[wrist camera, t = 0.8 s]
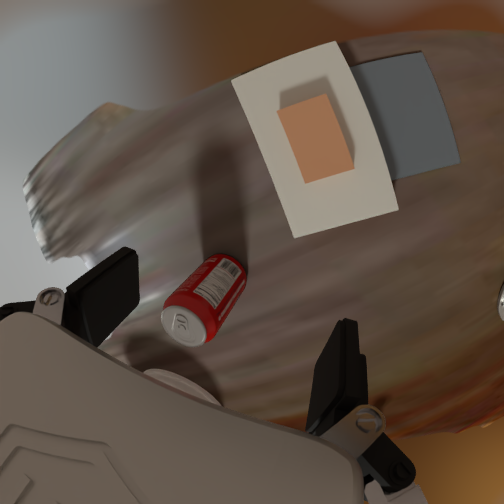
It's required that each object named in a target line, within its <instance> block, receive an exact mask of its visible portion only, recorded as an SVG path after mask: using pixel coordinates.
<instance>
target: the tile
mask: <svg viewBox="0 0 504 504" xmlns="http://www.w3.org/2000/svg"><path fill="white" fill-rule="evenodd" d="M276 112H277V114H278V116H279V119H280V121H281V123H282V126H283V128H284V131H285V133H286V135H287V138H288V140H289V143H290V145H291V148H292V151H293V153H294V156H295V158H296V161H297V163H298V166H299V169H300V171H301V174H302V177H303V179H304V182H305V184H306V183H310V182H313V181H316V180H319V179H322V178H326V177H329V176H332V175H336V174H339V173H342V172H346V171H349V170H353V169H355V168H354V165H353V162H352V159H351V156H350V153H349V150H348V147H347V144H346V142H345V139H344V136H343V134H342V131H341V128H340V126H339V123H338V121H337V118H336V116H335V113H334V111H333V108H332V106H331V104H330V101H329V99H328V97H327V94H323V95H320V96H317V97H314V98H311V99H308V100H305V101H302V102H299V103H297V104H294V105H291V106H288V107H286V108H283V109H280V110H278V111H276Z"/></svg>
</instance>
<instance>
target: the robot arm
mask: <svg viewBox="0 0 504 504" xmlns="http://www.w3.org/2000/svg"><path fill="white" fill-rule="evenodd" d="M66 289H67V292H66V293H64V292H63V291H62V290H61V289H59V288H55V287H51V288H47V289H44V290H43V291H41V292H40V293H39V294H38V296H37V298H36V301H27V302H16V303H8V304H5V305H3V306H2V307H0V504H363V503H364V500H365V501H368V502H369V504H428V503H427V501H426V499H425V497H424V494H423V492H422V490H421V488H420V486H419V485H415V483H414V479H415V475H416V470H415V467H414V465H413V463H412V462H411V460H410V459H409V458H408V457H407V456H406V455H405V454H404V453H403V452H402V451H401V450H400V449H399V448H398V447H397V446H396V445H395V444H394V443H393V442H392V441H391V440H390V439H389V438H388V436H387V435H386V434H385V433H384V432H383V431H384V429H385V426H386V421H385V418H384V415H383V414H382V412H381V411H380V410H379V409H377V408H376V407H374V406H371V405H368V383H367V365H366V356H365V355H363V354H360V351H359V336H358V323H357V321H354V320H350V319H347V318H344V319H343V321H341V320H339V321H338V322H337V324H336V326H335V328H334V330H333V332H332V334H331V336H330V338H329V340H328V342H327V343H326V345H325V347H324V349H323V351H322V353H321V355H320V356H319V358H318V360H317V362H316V365H315V369H314V377H313V384H312V391H311V398H310V404H309V411H308V417H307V423H306V429H305V431H306V432H309V433H306V432H303V431H299V430H296V429H292V428H289V427H286V426H282V425H278V424H275V423H271V422H268V421H265V420H261V419H258V418H255V417H252V416H249V415H246V414H243V413H239V412H236V411H234V410H231V409H228V408H225V407H222V406H219V405H217V404H214V403H211V402H209V401H206V400H203V399H201V398H198V397H196V396H193V395H191V394H188V393H186V392H184V391H181V390H179V389H177V388H174V387H172V386H170V385H168V384H165V383H163V382H161V381H159V380H157V379H155V378H153V377H151V376H148V375H146V374H144V373H142V372H140V371H138V370H136V369H135V368H133V367H131V366H129V365H127V364H125V363H123V362H121V361H119V360H118V359H116V358H114V357H112V356H110V355H109V354H107V353H105V352H103V351H102V350H100V349H98V348H97V347H98V346H99V345H100V344H101V343H102V342H103V341H104V340H105V339H106V338H107V337H108V336H109V335H110V334H111V333H112V332H113V331H114V329H115V328H116V327H117V326H118V325H119V324H120V323H121V322H122V321H123V320H124V319H125V318H126V317H127V316H128V315H129V314H130V313H131V312H132V311H133V310H134V309H135V308H136V307H137V306H138V304H139V301H140V294H139V267H138V255H137V254H136V251H135V250H133V249H131V248H128V247H122V248H121V249H119V250H118V251H116V252H115V253H113V254H112V255H111V256H109V257H108V258H106V259H105V260H103V261H102V262H100V263H99V264H98V265H96V266H95V267H93V268H92V269H91V270H89V271H88V272H87V273H85V274H84V275H83V276H81V277H80V278H78V279H77V280H76V281H74V282H73V283H72V284H70V285H69V286H68V287H66ZM498 313H499V315H500V317H501V318H502V320H503V321H504V284H503V286H502V288H501V291H500V294H499V297H498Z"/></svg>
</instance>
